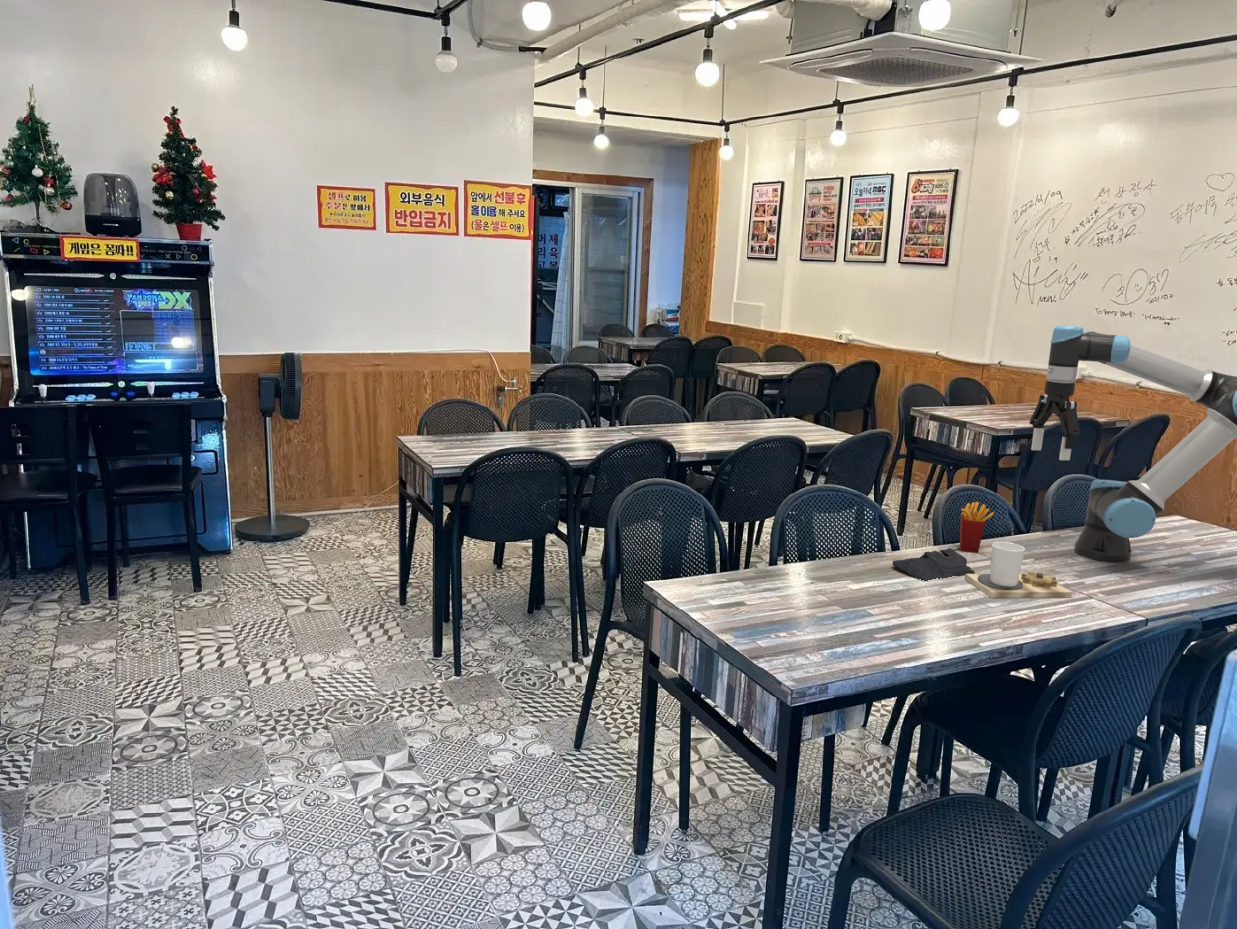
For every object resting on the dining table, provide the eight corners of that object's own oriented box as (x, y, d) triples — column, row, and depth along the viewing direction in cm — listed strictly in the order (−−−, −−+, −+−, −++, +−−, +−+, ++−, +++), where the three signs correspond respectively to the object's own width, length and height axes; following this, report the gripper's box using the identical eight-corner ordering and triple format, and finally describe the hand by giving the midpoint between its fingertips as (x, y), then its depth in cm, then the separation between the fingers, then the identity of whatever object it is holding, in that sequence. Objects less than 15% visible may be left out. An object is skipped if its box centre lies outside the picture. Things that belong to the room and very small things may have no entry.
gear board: (1040, 578, 240) (1042, 565, 239) (1071, 597, 227) (1073, 582, 226) (964, 579, 238) (966, 565, 237) (991, 597, 224) (993, 583, 223)
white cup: (1013, 578, 233) (1018, 542, 231) (1024, 588, 225) (1029, 552, 223) (983, 576, 234) (988, 540, 232) (992, 586, 226) (997, 550, 224)
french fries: (957, 551, 262) (963, 503, 259) (955, 543, 270) (961, 497, 267) (989, 555, 260) (995, 506, 256) (986, 547, 267) (992, 500, 264)
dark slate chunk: (882, 567, 247) (884, 551, 246) (938, 558, 257) (940, 542, 256) (923, 584, 234) (926, 568, 233) (980, 574, 244) (983, 558, 243)
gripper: (1023, 375, 257) (1013, 446, 261) (1075, 386, 233) (1064, 464, 237) (1046, 376, 258) (1036, 446, 262) (1101, 387, 233) (1089, 464, 238)
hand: (1049, 455), depth 250 cm, fingers open, 13 cm apart
